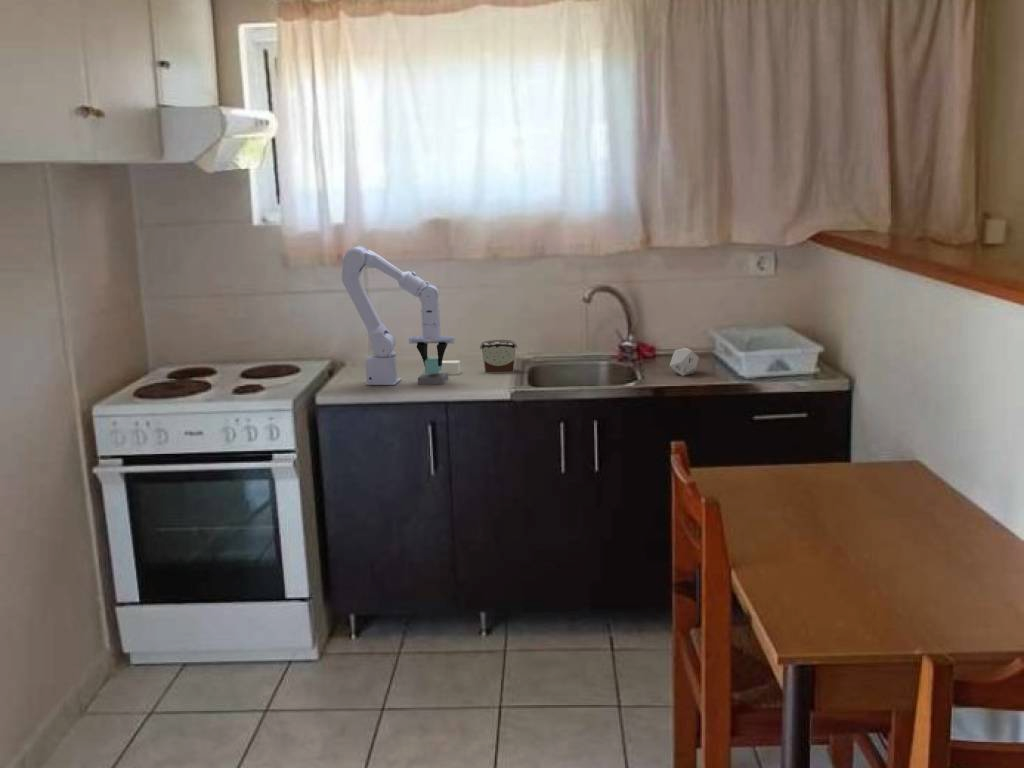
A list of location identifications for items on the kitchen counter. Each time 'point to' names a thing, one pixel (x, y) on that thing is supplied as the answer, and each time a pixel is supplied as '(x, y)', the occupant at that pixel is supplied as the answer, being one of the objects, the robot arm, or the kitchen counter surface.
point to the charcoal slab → (433, 378)
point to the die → (684, 361)
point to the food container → (498, 355)
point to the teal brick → (432, 365)
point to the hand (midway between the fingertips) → (433, 365)
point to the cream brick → (451, 367)
